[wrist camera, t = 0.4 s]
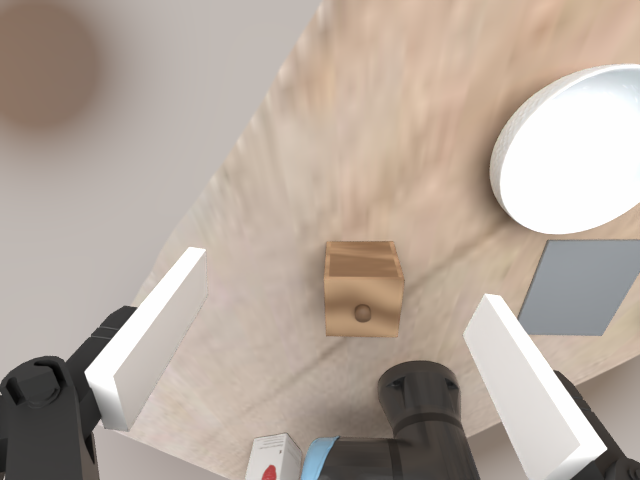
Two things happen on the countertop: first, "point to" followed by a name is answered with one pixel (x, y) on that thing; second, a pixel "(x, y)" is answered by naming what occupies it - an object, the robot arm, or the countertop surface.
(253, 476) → the supplement box
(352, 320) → the walnut cover
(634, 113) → the cereal bowl
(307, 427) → the countertop surface
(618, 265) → the slate mat
